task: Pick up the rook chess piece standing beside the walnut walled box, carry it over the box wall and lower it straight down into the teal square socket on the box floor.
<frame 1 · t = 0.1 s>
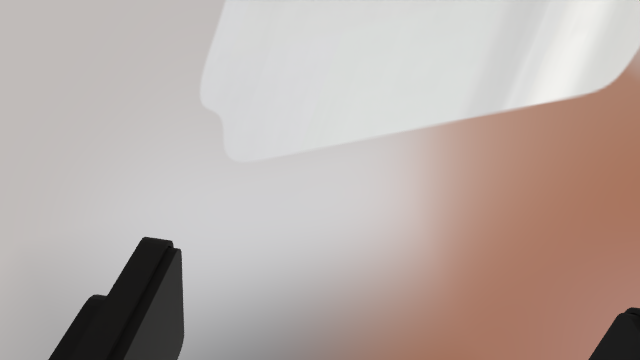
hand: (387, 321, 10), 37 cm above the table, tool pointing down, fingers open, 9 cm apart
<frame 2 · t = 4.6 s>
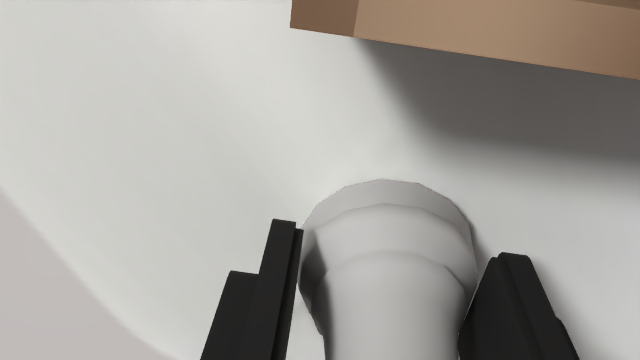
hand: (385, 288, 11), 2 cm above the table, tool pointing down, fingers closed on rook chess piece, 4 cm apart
rook chess piece: (382, 236, 13), on the table, touching gripper
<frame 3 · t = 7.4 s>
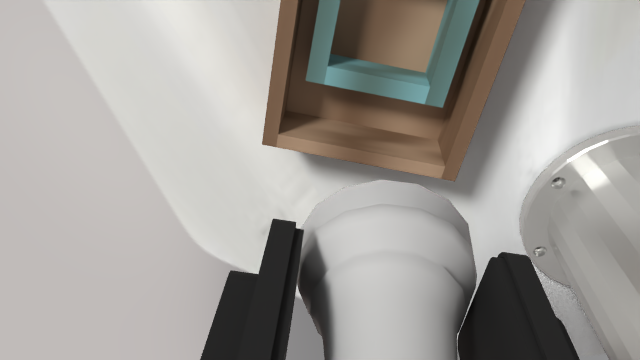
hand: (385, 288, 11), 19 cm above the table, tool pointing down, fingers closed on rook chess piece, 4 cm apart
walled box: (389, 10, 26), on the table
rook chess piece: (382, 236, 13), point 17 cm above the table, touching gripper
when the fingers open (4 cm above the table, at t = 10.4 s): rook chess piece drops 1 cm, resting on walled box.
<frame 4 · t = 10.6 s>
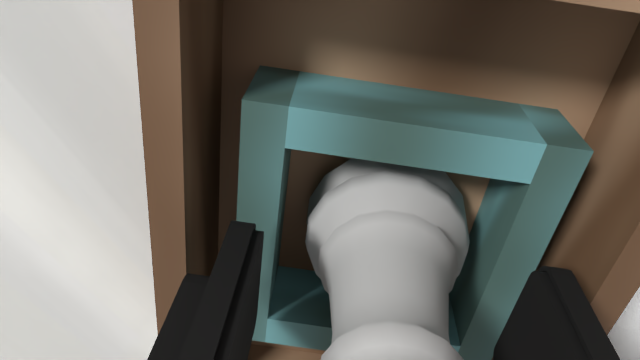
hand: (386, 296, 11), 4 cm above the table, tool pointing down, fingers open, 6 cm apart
walled box: (379, 193, 15), on the table
rook chess piece: (384, 208, 14), point 1 cm above the table, touching walled box
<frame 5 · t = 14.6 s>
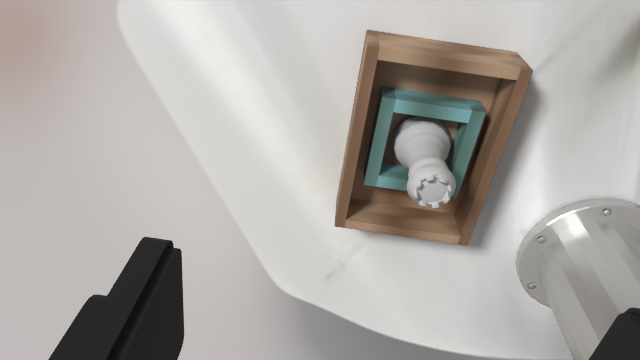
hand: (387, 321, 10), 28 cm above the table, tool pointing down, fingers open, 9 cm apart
walled box: (417, 132, 39), on the table
rook chess piece: (419, 137, 39), point 1 cm above the table, touching walled box
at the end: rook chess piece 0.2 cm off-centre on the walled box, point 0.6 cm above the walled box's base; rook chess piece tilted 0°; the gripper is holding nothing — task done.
